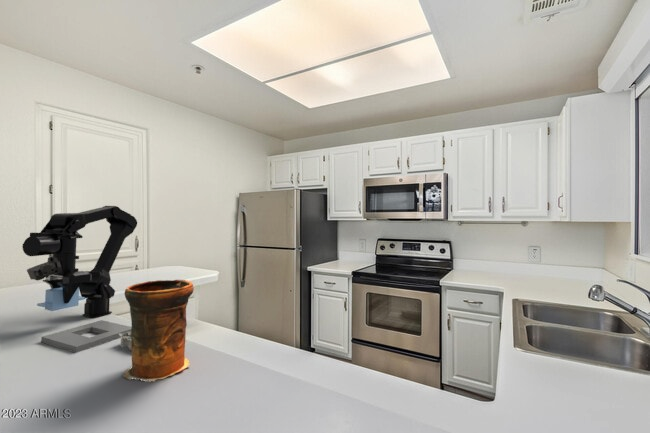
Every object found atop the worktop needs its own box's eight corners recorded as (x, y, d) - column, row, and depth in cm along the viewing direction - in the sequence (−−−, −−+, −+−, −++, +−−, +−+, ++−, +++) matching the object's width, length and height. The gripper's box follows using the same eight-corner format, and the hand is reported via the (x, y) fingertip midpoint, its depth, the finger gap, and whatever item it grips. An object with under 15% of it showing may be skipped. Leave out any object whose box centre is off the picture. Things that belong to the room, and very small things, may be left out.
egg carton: (166, 345, 87) (166, 330, 87) (139, 355, 80) (140, 339, 80) (142, 337, 92) (143, 323, 92) (116, 346, 85) (116, 331, 85)
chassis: (101, 324, 101) (101, 320, 101) (134, 332, 95) (135, 327, 95) (41, 342, 86) (41, 336, 86) (76, 352, 80) (76, 346, 80)
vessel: (155, 390, 63) (157, 292, 64) (107, 378, 68) (109, 287, 69) (205, 361, 77) (206, 281, 77) (162, 353, 82) (163, 277, 82)
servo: (36, 311, 93) (37, 289, 93) (77, 302, 103) (78, 282, 103) (44, 312, 91) (45, 290, 91) (85, 304, 101) (85, 284, 102)
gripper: (15, 253, 94) (12, 304, 93) (51, 257, 86) (48, 313, 86) (58, 250, 104) (56, 296, 104) (93, 254, 97) (91, 303, 96)
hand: (62, 302), depth 97 cm, fingers closed on servo, 4 cm apart
